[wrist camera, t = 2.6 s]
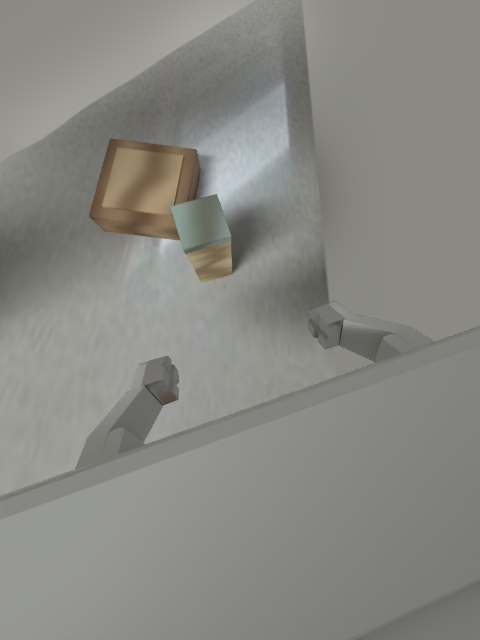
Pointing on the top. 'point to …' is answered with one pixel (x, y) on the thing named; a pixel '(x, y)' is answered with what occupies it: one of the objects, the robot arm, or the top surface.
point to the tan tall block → (205, 237)
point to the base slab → (144, 188)
